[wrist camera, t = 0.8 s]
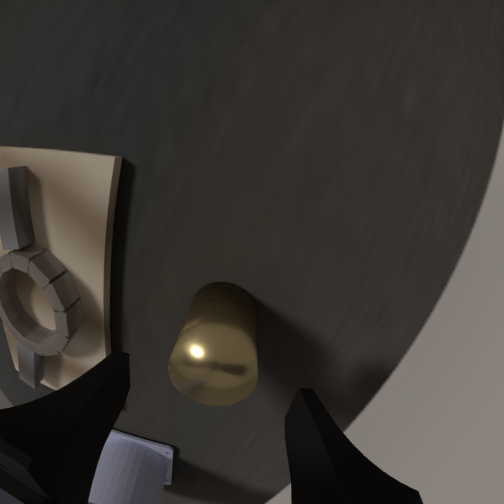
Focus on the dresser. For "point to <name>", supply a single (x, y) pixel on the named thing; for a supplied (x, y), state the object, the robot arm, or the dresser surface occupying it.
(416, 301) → the dresser surface
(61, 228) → the coupling plate
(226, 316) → the cylinder
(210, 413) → the dresser surface
